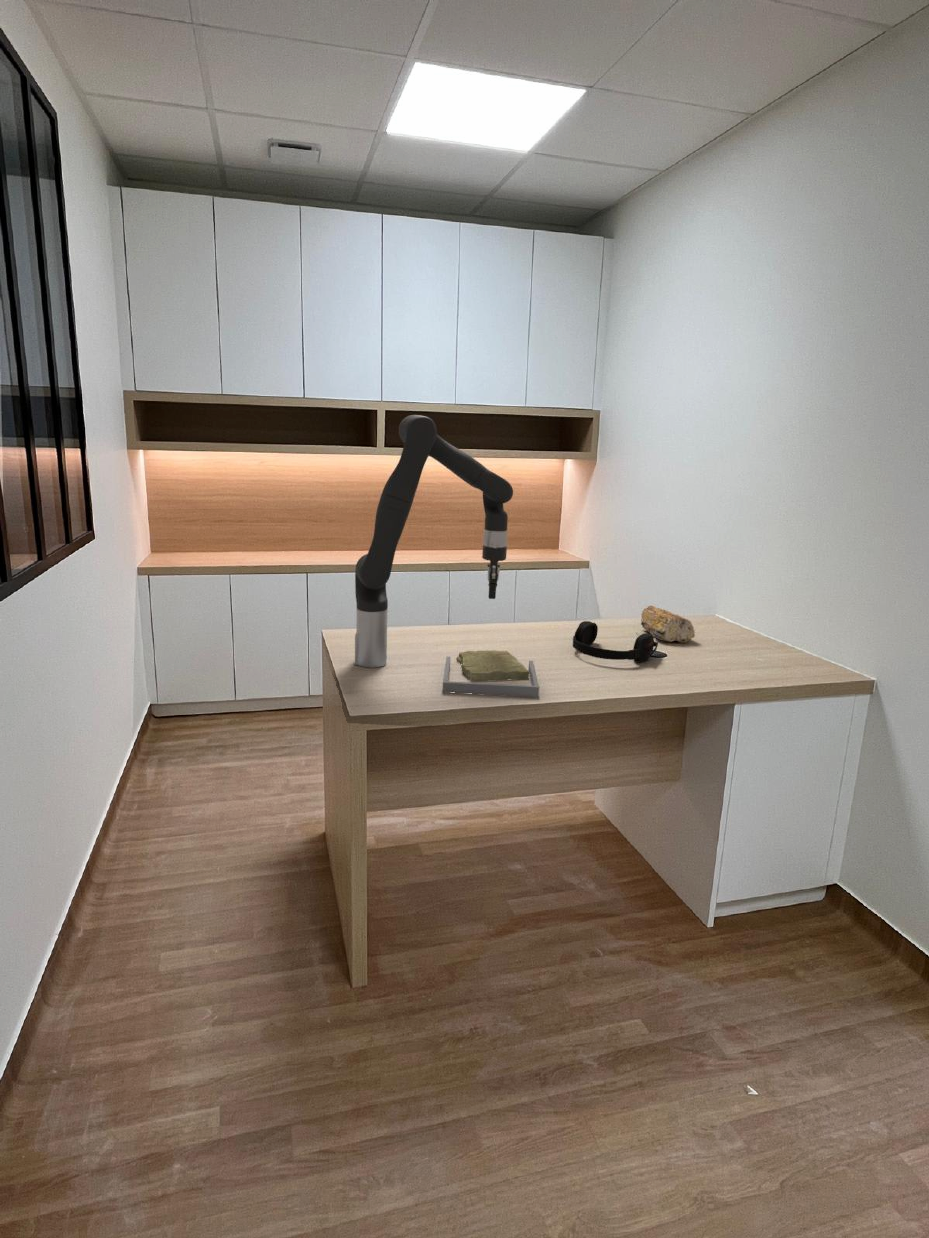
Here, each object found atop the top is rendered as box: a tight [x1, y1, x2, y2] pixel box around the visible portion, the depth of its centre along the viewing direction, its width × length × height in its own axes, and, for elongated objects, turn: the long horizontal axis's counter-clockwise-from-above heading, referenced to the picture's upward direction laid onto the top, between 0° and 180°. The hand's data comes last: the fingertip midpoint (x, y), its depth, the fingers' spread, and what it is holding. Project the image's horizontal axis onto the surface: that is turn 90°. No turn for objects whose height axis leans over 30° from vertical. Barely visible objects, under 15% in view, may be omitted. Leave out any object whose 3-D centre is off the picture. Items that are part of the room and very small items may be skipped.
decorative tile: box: [455, 649, 530, 682], centre depth 225 cm, size 19×20×4 cm
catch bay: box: [442, 656, 540, 698], centre depth 215 cm, size 26×23×3 cm
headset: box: [572, 620, 659, 664], centre depth 245 cm, size 28×26×9 cm
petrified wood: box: [640, 605, 696, 644], centre depth 269 cm, size 19×13×10 cm
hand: (491, 598), depth 235 cm, fingers closed
